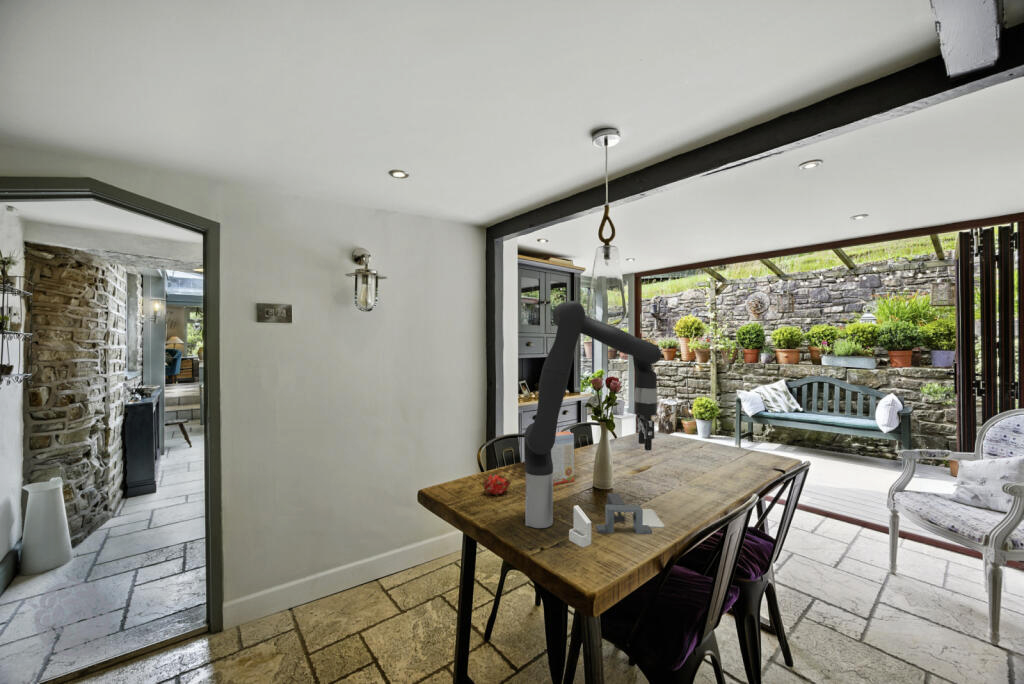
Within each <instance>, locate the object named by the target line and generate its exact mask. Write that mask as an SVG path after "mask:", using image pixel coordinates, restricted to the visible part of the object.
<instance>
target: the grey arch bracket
mask: <svg viewBox="0 0 1024 684" xmlns="http://www.w3.org/2000/svg"><path fill="white" fill-rule="evenodd" d="M604 506H605V507H604V508H605V509H604V510H605V511H604V512H605V513H604V514H605V516H604V517H605V518H604V521H605V522H604V523H605V524H601V523H600V524H595V528H596V531H597V534H614V533H615V521H614V512H625V513H631V512H633V514H632V518H633V519H632V528H633V530H634V532H635V534H636V535H653V530H652V528H650V527H649V525H643V510H642V509H643V508H642V507H641V505H640V504H625V505H607V504H605V505H604Z"/></svg>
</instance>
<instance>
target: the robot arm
mask: <svg viewBox="0 0 1024 684" xmlns="http://www.w3.org/2000/svg"><path fill="white" fill-rule="evenodd" d="M552 320H553V321H554V323H555V324H556V326H557V328H556V329H557V330H556V335H555V339H554V341H553V344H552V345H551V348H550V350H549V351H548V354H547V356H546V357H545V360H544V363H543V366H542V369H541V373H540V376H539V383H538V393H537V395H538V397H537V410H536V414H535V418H534V421H533V422H532V423H531V424H529V425H528V426H527V427H526V429H525V431H524V438H523V443H524V444H523V445H524V446H523V447H524V451H523V452H524V454H523V455H524V464H525V465H524V466H525V467H524V468H525V497H524V498H525V500H524V503H525V514H524V516H525V518H524V519H525V526H526V527H530V528H534V529H547V528H549V527H551V526H552V525H553V523H554V485H553V463H552V457H551V449H552V448H553V446H554V443H555V437H556V432H557V429H558V421H559V415H560V411H561V408H562V405H563V401H564V398H565V393H566V390H567V387H568V383H569V379H570V375H571V369H572V365H573V361H574V356H575V351H576V346H577V344H578V339H579V337H580V334H582V335H584V336H587V337H589V338H591V339H593V340H596V341H598V342H600V343H601V344H603V345H605V346H607V347H609V348H611V349H613V350H615V351H617V352H619V353H622V354H624V355H629V356H632V361H633V367H634V368H633V369H634V372H635V390H634V411H633V412H634V414H635V415H636V430H637V433H638V441H637V442H638V444H640V445H644V447H643V448H644V450H645V451H652V448H653V447H652V445H653V443H652V442H653V441H652V440H654V439H655V421H654V420H652V416H653V417H654V416H656V415H657V414H658V413H657V412H658V391H657V389H658V388H657V387H658V381H657V380H658V377H657V373H656V372H655V371H654V370H653V367H652V366H653V365H654V364H657V363H658V362H659V361H660V360H661V358H662V350H661V348H660V347H659V346H658V345H656V344H655V343H654V342H653V343H652V342H650V341H647V340H645V339H642V338H639V337H637V336H634V335H632V334H631V333H629V332H626V331H625V330H623V329H621V328H618V327H616V326H613V325H610V324H607V323H605V322H602V321H599V320H596V319H595V318H592V317H590V316H588V315H586V310H585V307H584V306H583V304H581V303H580V302H578V301H575V300H569V301H564V302H561V303H559V304H558V305H557V306H555V308H554V309H553V311H552Z"/></svg>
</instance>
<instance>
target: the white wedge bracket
mask: <svg viewBox="0 0 1024 684" xmlns="http://www.w3.org/2000/svg"><path fill="white" fill-rule="evenodd" d="M568 531H569V532H568V540H569V542H572V543H574V544H576V545H577V546H579V548H586V547H588V546H591V545H592V521H591V520H590V519H589V517H588V516H587V515H586V514H585V512H584V511H583V510H582V508H581V507H580V506H579V505H578V504H576V505H573V528H570V529H568Z"/></svg>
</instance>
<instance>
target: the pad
mask: <svg viewBox="0 0 1024 684" xmlns="http://www.w3.org/2000/svg"><path fill="white" fill-rule="evenodd" d="M642 510H643V525H649V527H650V528H651V529H654V528H655V529H656V528H658V529H661V528H662V529H666V527H665V524H664V523H663V521H662V520H661V519H660V518H659V516H658V515H657V513H656V512H655V511H654V509H653V508H642ZM630 513H631V514H632V515H633V512H630Z"/></svg>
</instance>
